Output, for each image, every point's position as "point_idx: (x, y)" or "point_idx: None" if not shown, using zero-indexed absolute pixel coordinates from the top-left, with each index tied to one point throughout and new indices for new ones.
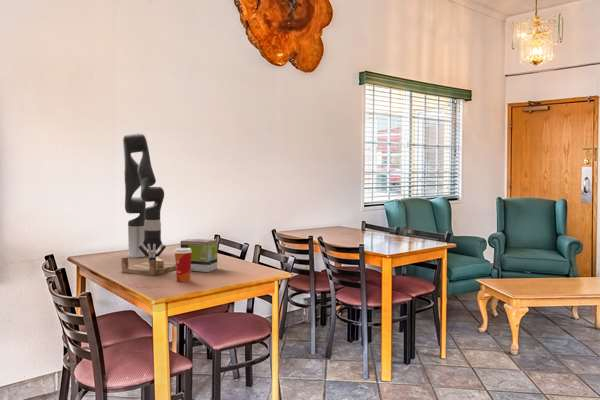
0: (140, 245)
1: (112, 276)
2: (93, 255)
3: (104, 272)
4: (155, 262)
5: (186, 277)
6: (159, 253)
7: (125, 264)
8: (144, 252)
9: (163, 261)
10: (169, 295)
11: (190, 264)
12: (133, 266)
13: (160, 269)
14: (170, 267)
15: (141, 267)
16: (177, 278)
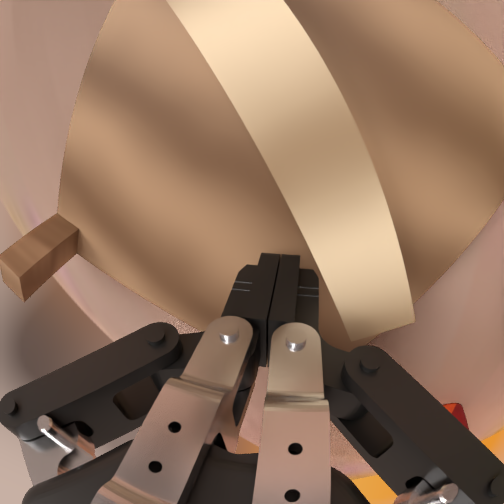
0: (27, 445)
1: (95, 315)
2: None
3: (21, 222)
4: None
5: None
6: (373, 432)
7: (59, 267)
8: (139, 411)
9: (413, 317)
10: (361, 475)
11: None
12: (89, 187)
13: (365, 338)
14: (458, 253)
15: (168, 236)
16: None
